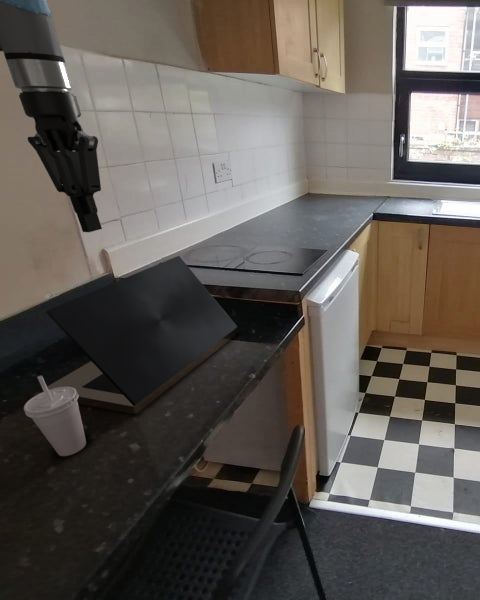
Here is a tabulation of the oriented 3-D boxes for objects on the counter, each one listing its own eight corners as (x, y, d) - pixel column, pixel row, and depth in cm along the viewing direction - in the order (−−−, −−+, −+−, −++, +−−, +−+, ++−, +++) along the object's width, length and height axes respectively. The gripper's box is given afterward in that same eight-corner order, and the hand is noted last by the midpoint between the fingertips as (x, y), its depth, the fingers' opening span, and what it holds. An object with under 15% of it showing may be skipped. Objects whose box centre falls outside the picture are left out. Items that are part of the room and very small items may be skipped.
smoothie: (47, 469, 61) (9, 394, 55) (46, 445, 65) (11, 373, 59) (98, 449, 64) (68, 376, 59) (94, 427, 69) (66, 358, 63)
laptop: (45, 397, 77) (41, 389, 76) (164, 325, 103) (162, 319, 102) (136, 414, 72) (133, 405, 71) (236, 334, 98) (235, 327, 98)
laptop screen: (44, 312, 67) (47, 310, 66) (176, 257, 93) (179, 255, 93) (133, 406, 71) (135, 404, 71) (235, 328, 98) (237, 326, 97)
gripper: (98, 91, 69) (136, 227, 79) (39, 93, 72) (83, 224, 82) (54, 89, 62) (102, 237, 72) (-8, 91, 65) (46, 233, 75)
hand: (92, 230), depth 77 cm, fingers closed
